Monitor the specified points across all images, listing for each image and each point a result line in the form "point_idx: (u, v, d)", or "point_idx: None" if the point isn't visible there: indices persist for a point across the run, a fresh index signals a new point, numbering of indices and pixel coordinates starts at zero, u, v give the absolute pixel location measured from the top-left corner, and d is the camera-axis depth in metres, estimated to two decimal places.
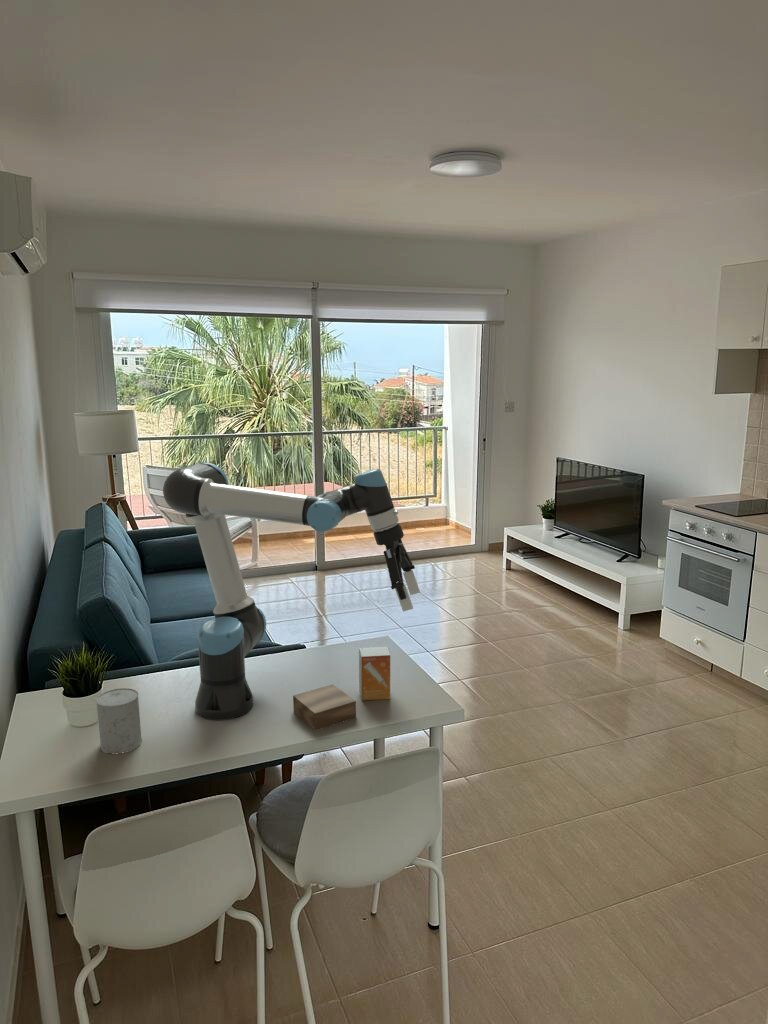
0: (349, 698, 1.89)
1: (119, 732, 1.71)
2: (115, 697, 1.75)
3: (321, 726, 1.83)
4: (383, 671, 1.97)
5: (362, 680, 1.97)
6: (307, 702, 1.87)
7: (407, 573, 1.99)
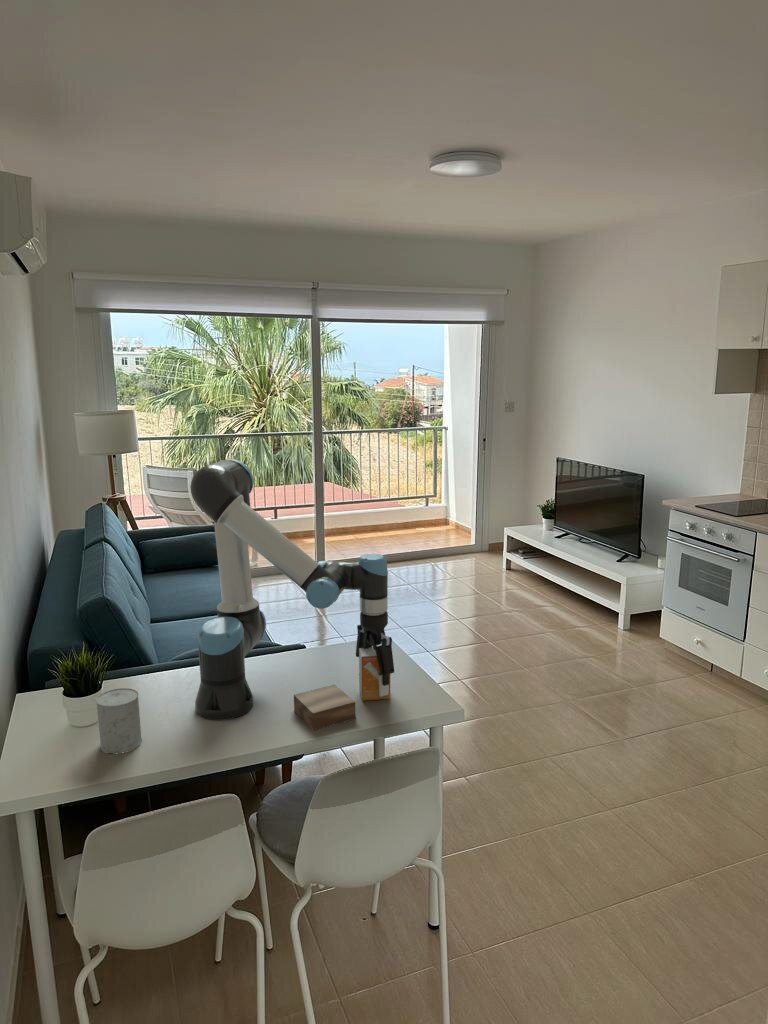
0: (349, 699, 1.89)
1: (119, 732, 1.71)
2: (115, 697, 1.75)
3: (319, 726, 1.83)
4: None
5: (362, 680, 1.97)
6: (307, 701, 1.88)
7: None
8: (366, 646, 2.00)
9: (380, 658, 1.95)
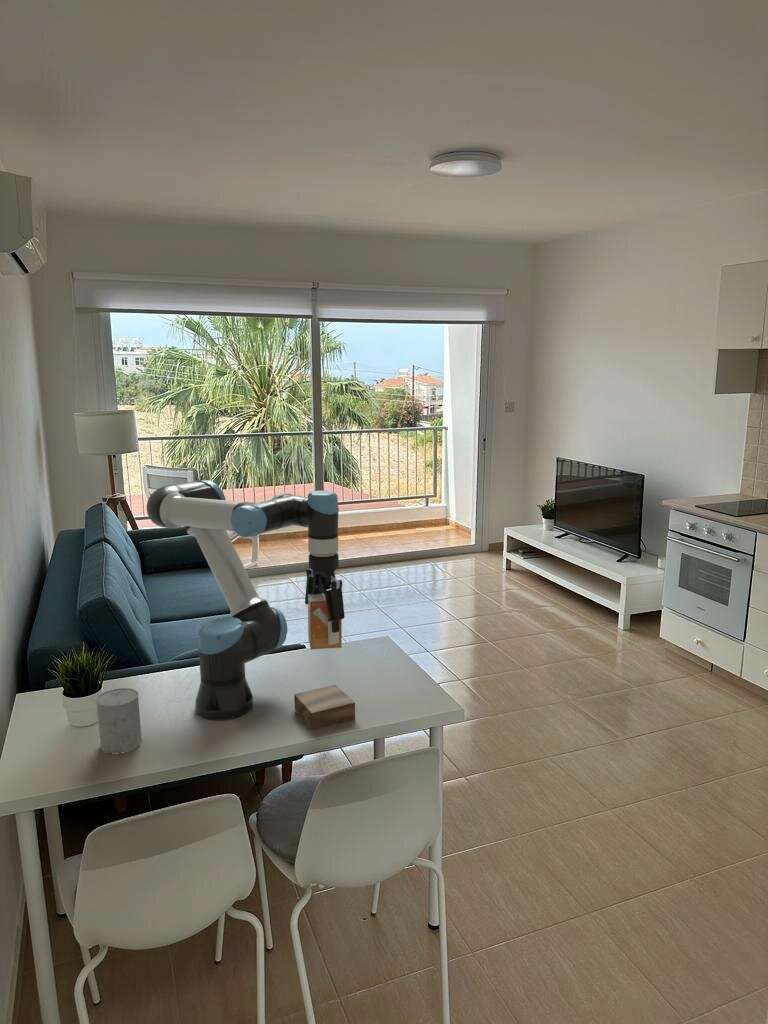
0: (349, 699, 1.89)
1: (119, 732, 1.71)
2: (115, 697, 1.75)
3: (318, 726, 1.83)
4: None
5: (311, 627, 1.83)
6: (306, 701, 1.88)
7: None
8: (315, 591, 1.86)
9: (329, 603, 1.81)
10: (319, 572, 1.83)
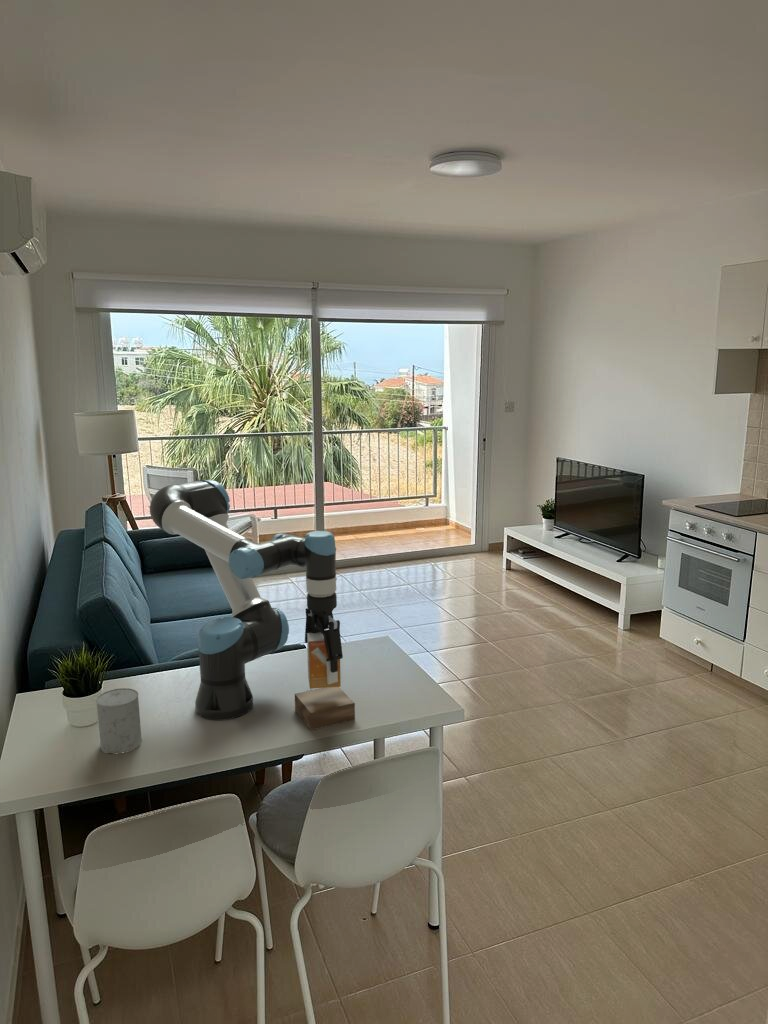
0: (349, 699, 1.89)
1: (119, 732, 1.71)
2: (115, 697, 1.75)
3: (317, 726, 1.83)
4: None
5: (310, 667, 1.84)
6: (306, 701, 1.88)
7: None
8: (314, 630, 1.87)
9: (328, 643, 1.82)
10: (317, 612, 1.84)
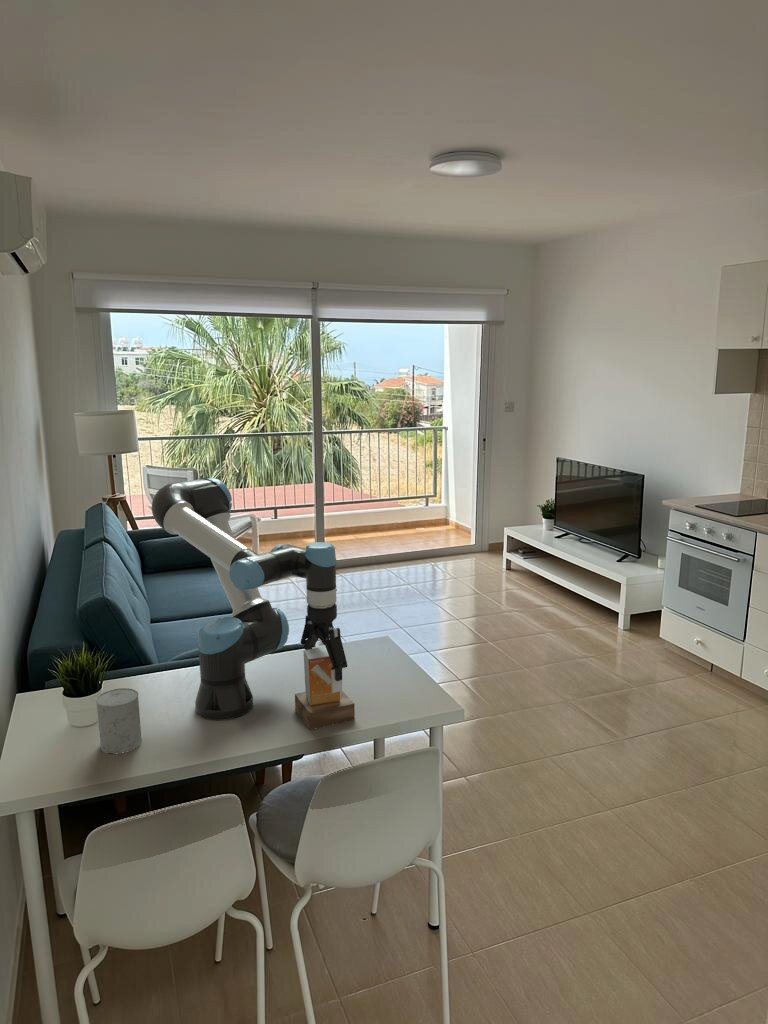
0: (348, 700, 1.89)
1: (119, 732, 1.71)
2: (115, 697, 1.75)
3: (317, 726, 1.83)
4: None
5: (310, 684, 1.84)
6: (306, 701, 1.88)
7: None
8: (312, 637, 1.89)
9: (330, 652, 1.81)
10: (318, 626, 1.85)
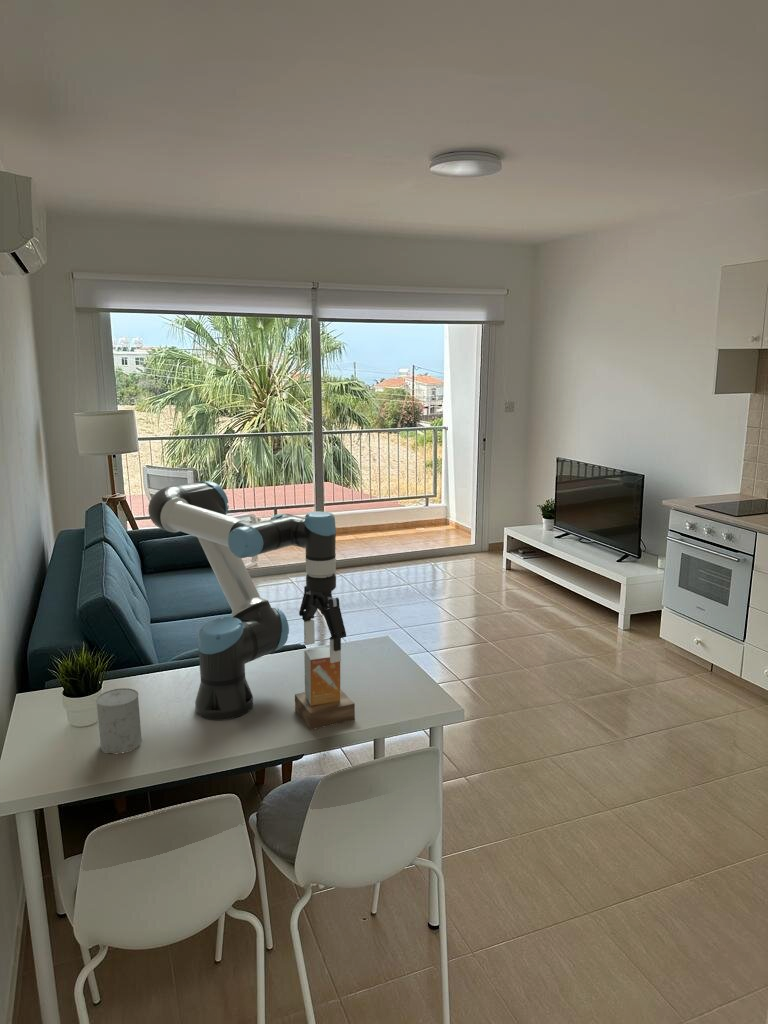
0: (348, 700, 1.89)
1: (119, 732, 1.71)
2: (115, 697, 1.75)
3: (317, 726, 1.84)
4: (333, 673, 1.86)
5: (311, 684, 1.84)
6: (306, 701, 1.88)
7: (309, 622, 1.91)
8: (311, 608, 1.87)
9: (329, 621, 1.80)
10: (317, 596, 1.84)
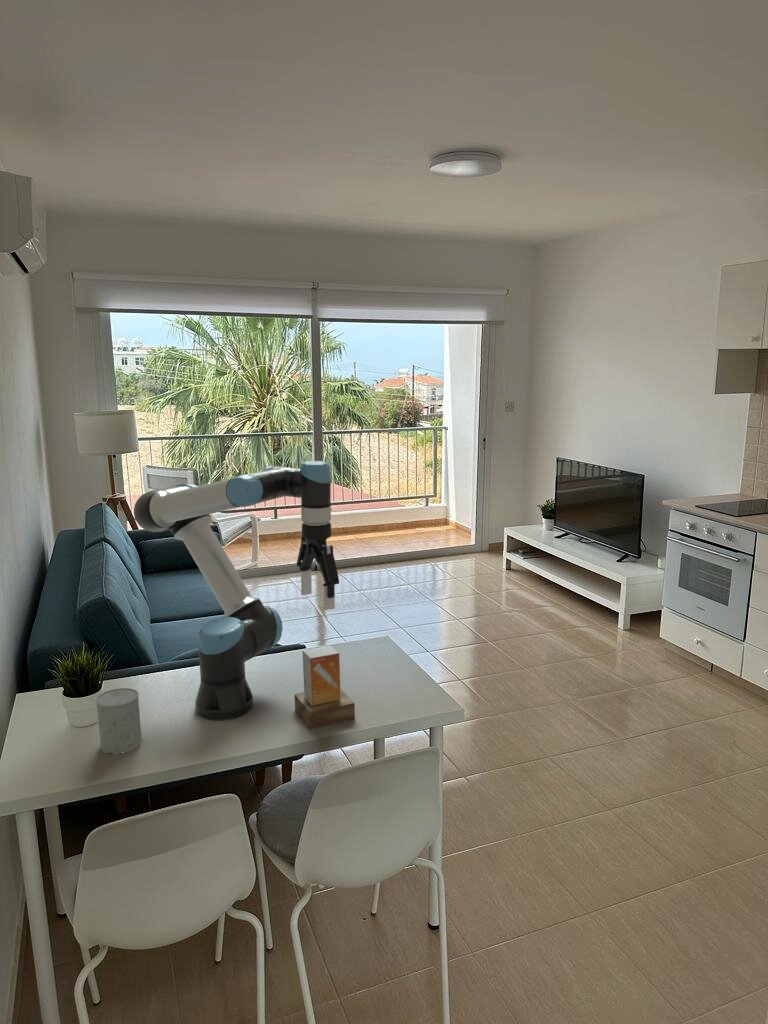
0: (348, 700, 1.89)
1: (119, 732, 1.71)
2: (115, 697, 1.75)
3: (317, 726, 1.84)
4: (332, 671, 1.86)
5: (312, 683, 1.84)
6: (306, 701, 1.88)
7: (306, 572, 1.94)
8: (307, 557, 1.90)
9: (323, 569, 1.83)
10: (312, 544, 1.86)
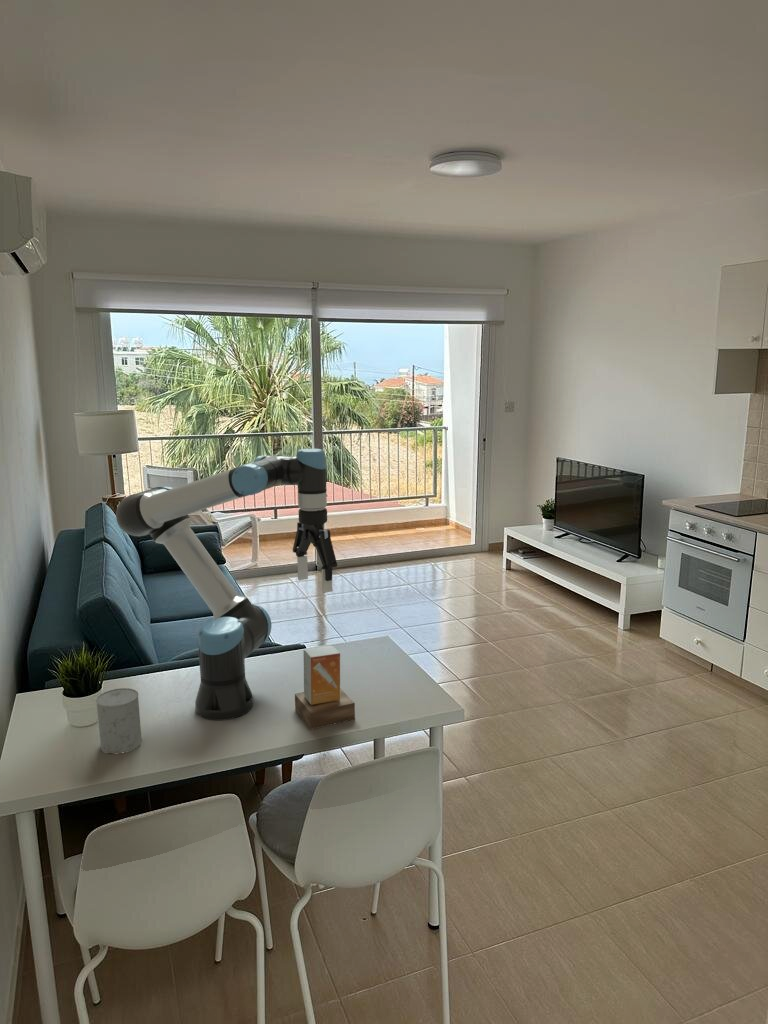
0: (349, 699, 1.89)
1: (119, 732, 1.71)
2: (115, 697, 1.75)
3: (317, 726, 1.84)
4: (332, 671, 1.86)
5: (311, 683, 1.84)
6: (306, 701, 1.88)
7: (302, 558, 1.99)
8: (303, 543, 1.95)
9: (321, 553, 1.88)
10: (309, 530, 1.92)
